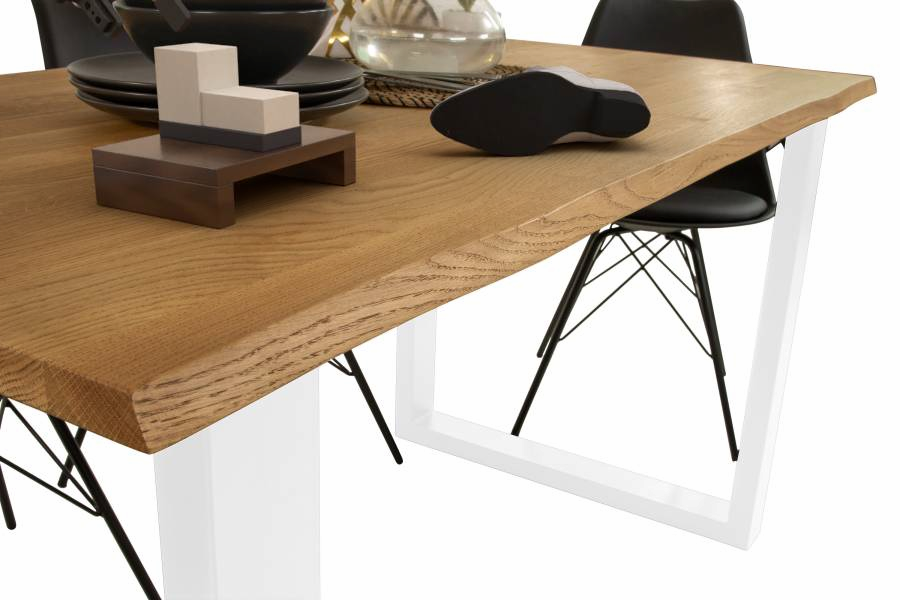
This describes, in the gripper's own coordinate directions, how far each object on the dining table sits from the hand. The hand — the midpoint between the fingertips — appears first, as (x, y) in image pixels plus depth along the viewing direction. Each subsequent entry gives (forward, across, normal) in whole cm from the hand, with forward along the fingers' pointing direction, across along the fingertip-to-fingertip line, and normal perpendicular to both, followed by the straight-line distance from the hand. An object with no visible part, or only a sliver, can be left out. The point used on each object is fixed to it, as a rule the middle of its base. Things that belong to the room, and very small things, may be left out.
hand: (152, 28), depth 93 cm
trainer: (+13, 0, 0) cm, 13 cm away
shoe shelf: (+16, 0, +4) cm, 17 cm away
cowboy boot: (+23, +42, -2) cm, 48 cm away
